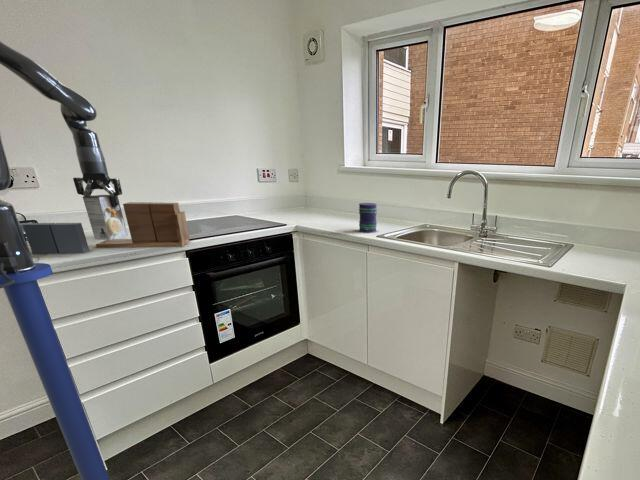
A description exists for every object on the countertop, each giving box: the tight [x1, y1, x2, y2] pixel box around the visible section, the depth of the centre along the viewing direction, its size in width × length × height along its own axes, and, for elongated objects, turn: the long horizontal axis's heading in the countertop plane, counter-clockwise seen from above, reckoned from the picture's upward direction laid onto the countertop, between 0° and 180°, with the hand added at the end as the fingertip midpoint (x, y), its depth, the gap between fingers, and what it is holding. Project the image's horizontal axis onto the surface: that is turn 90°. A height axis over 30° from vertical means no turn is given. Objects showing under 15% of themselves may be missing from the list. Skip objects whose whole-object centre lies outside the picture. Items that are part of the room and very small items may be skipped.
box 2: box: [149, 201, 181, 242], centre depth 151 cm, size 6×9×16 cm, turn 104°
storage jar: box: [358, 202, 378, 233], centre depth 197 cm, size 10×10×15 cm
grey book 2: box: [50, 222, 90, 254], centre depth 135 cm, size 4×8×11 cm, turn 103°
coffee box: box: [82, 194, 128, 241], centre depth 135 cm, size 9×6×16 cm
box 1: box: [122, 201, 157, 242], centre depth 149 cm, size 6×9×16 cm, turn 104°
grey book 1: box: [22, 222, 60, 255], centre depth 133 cm, size 4×8×11 cm, turn 103°
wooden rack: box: [95, 210, 190, 249], centre depth 150 cm, size 10×32×14 cm, turn 103°
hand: (103, 206), depth 134 cm, fingers closed on coffee box, 7 cm apart
